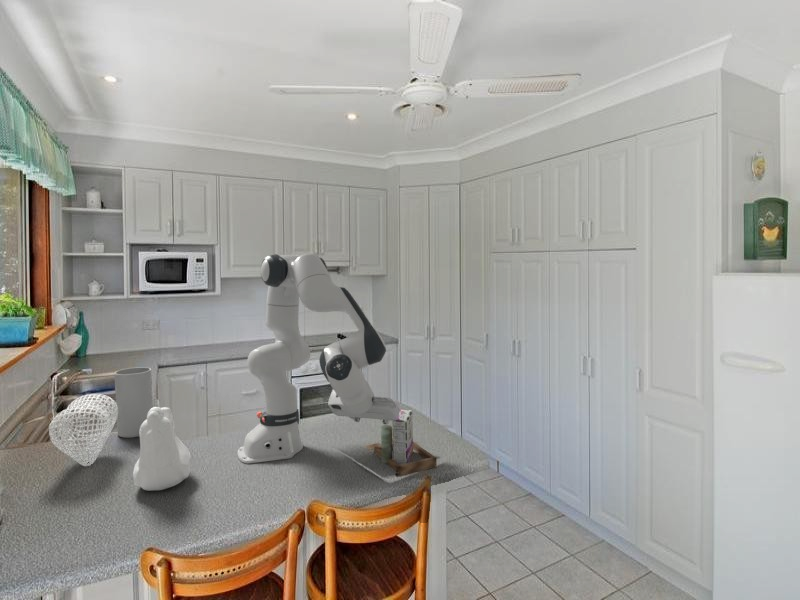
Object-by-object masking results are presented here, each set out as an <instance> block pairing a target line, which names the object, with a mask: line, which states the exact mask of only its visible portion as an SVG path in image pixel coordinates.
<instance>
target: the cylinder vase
mask: <svg viewBox="0 0 800 600" xmlns="http://www.w3.org/2000/svg"><path fill="white" fill-rule="evenodd" d="M113 374H114V390H115V391H114V393H115V402H116V403H117V407H118V416H117V420H116V427H117V436H118V437H120V438H125V439H129V438H130V439H131V438H133V439H134V438H138V437H139V438H140V435H139V431H140V427H141V425H142V423H143V422H144V421H145V420H146V419H147V414H148V412H149V410H150V409H151V408H153V407H154V406H153V405H154V403H153V402H154V401H153V385H152V384H153V383H152V380H153V379H152V368H150V367H145V366H144V367H143V366H142V367H141V366H140V367H137V366H136V367H129V368H123V369H119V370H117V371H115V372H114V373H113Z"/></svg>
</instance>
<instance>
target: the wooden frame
mask: <svg viewBox="0 0 800 600" xmlns="http://www.w3.org/2000/svg"><path fill="white" fill-rule="evenodd" d="M392 428H393V425H390V424H388V425H387V424H383V425H381V426H380V438H381V440H380V441H381V442H380V444H381V446H379V447H375V448H374V449H373V450H374V451H373V453H374V454H375V455H376V456H378V457H379V458H380V459H381V460H380V461H381V463H382V464H383V465H388V466H389V467H390V468H391V469H392V470H394V471H395V472H396V473H394V475H395V476H396V477H401V476H407V475H408V474H414V473H417V472H421V471H424V470H425V471H426V470H429V469H432V468H437V459H438V458H437V457H436V456H434V455H433V454H432V453H431V452H429V451H427V450H426V449H425V448H423V447H422V446H420V445H419V444H417V443H416V442H415V441H413V451H414V452H416V453H417V454H419V455H420V456H422V457H423V458H422V459H419V460H415V461H411V462H410V461H409V463H405V464H401V465H399V464H397V463H396V462H395V461H394V460H393V444H392Z"/></svg>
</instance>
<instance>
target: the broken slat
mask: <svg viewBox="0 0 800 600" xmlns="http://www.w3.org/2000/svg"><path fill="white" fill-rule="evenodd" d="M379 446H381V442H378V443H377V442H376V443H373V444H372V443H371V444H368V445H364V448H366V449H367V450H368V451H371V450H374V448H375V447H379Z"/></svg>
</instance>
